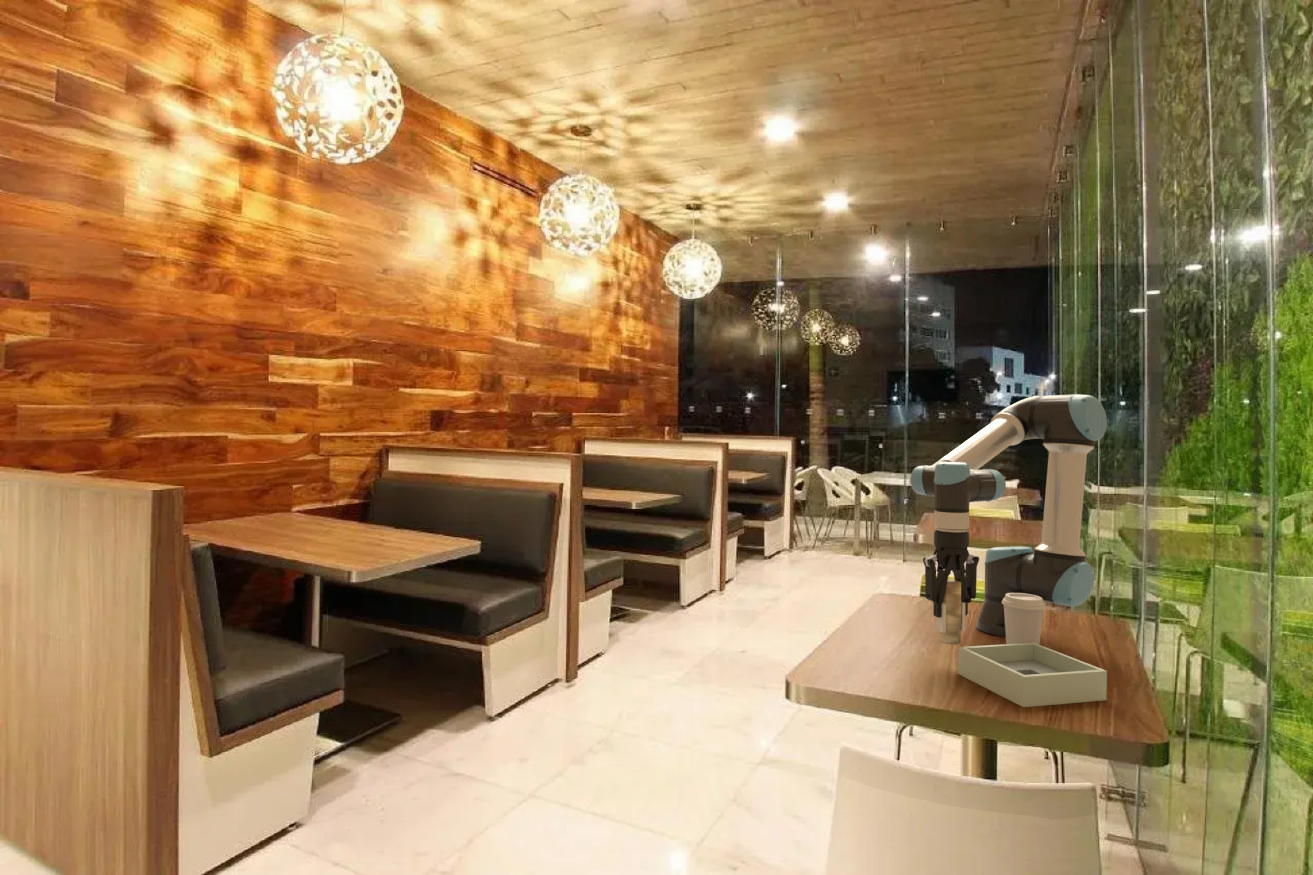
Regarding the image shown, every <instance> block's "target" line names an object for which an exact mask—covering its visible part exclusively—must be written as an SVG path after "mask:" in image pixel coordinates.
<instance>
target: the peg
mask: <svg viewBox="0 0 1313 875" xmlns="http://www.w3.org/2000/svg"><path fill="white" fill-rule="evenodd" d="M943 603H944V604H946V633H943V632H940V631H939V641H940V642H941V643H943V644H946V645H953V646H954V645H961V642H962V641H961V637H962V633H961V632H962V631H961V582H960V581H957V580H955V579H951V578H950V579H949V578H948V581H947V586H946V590H945V595H944V600H943Z"/></svg>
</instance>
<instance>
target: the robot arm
mask: <svg viewBox="0 0 1313 875" xmlns="http://www.w3.org/2000/svg"><path fill="white" fill-rule="evenodd" d="M1107 419H1108V418H1107V414H1106V410H1105V408H1104V407H1103V405H1102V403H1101V401H1100V400H1099V399H1098V398H1097V397H1095V396H1093V395H1089V394H1078V393H1077V394H1074V393H1073V394H1057V395H1056V394H1055V395H1034V396H1030V397H1027V398H1024V399H1021V400H1019V401H1017V402H1015V403H1013V404H1011V405H1009V406H1007V407H1005V408H1004V409H1002V410H1001V411H999V412H998V413H996V414H995V415H994V416H993V417H992V418H991V420H990V423H989V424H988V425H986V426H985V427H983V428H982V429H980V430H979V431H978V432H977V433H975V434H974V435H973V436H971V437H970V438H968V439H967V440H965V441H964V442H963V443H962V444H960V445H959V446H957V447H956V448H954V449H953V450H952V451H950V452H949V453H948V454H946V455H944V456H943V457H941V459H939V460H938V461H936V462H934V463H933V464H932V465H927V464H926V465H919V466H916V467H914V469H913V470H912V472H911V474H910V477H909V480H910V482H909V483H910V486H911V489H912V491H913V492H914V493H916V494H918V495H922V496H927V497H934V512H933V513H934V517H933V519H934V520H933V522H934V523H933V526H934V528H936V529H935V530H934V531H933V545H934V551H933V554H932V555H931V556H929V557H927V556H924V557H923V558H922V561H923V566H924V569H925V570H924V572H925V573H924V574H925V575H924V576H925V577H924V578H925V580H924V582H925V584H924V585H925V589H924V590H925V591H924V592H925V593H924V594H925V596H924V597H925V599H926V600H928V601H930V602H933V607H932V608H933V610H932V611H933V612H932V613H933V616H934V617H935V630H936V631H938V632H939V633H940V632H943V633H946V604H944V603H943V600H944V595H945V590H946V586H947V581H948V579H949V576H950V575H951V572H952V574H953V578H954V580H957V581H960V582H961V632H965V631H966V616H968V613H969V611H968V610H969V609H968V608H969V604H970V603H972V599H973V600H975V599H976V598H977V578H978V577H977V574H978V572H977V571H978V565H979V561H980V557H979V556H978V555H977V556H976V555H973V554H970V552H969V551H968V548H969V546H970V532H969V529H970V503H976V502H991V501H995V500H998V499H1000V498H1002V497H1003V495H1004V494H1005V492H1006V488H1007V487H1006V486H1007V485H1006V484H1007V483H1006V482H1007V481H1006V480H1005V477H1004V475H1003V474H1002V473H1001V472H1000V471H998V470H996V469H991V468H983V469H980V468H981V467H983V466H984V465H985V464H987V463H988V462H990V461H991V460H992V459H993V458H995V457H996V456H998V455H999V454H1000V453H1001V452H1003V451H1004V450H1005V449H1007V448H1008V447H1009V446H1016V445H1018V444H1019V445H1020V443H1022V442H1023V441H1026V440H1034V439H1035V440H1036V439H1041V440H1043V443H1042V446H1044V448H1045V449H1046V450H1047V451H1048V458H1047V460H1048V461H1047V471H1046V472H1047V473H1046V482H1045V483H1046V484H1045V495H1044V496H1045V498H1044V509H1043V520H1042V522H1043V523H1042V532H1041V542H1040V543H1039V544H1038V545H1037V546H1035V547H1034V550H1033V547H1032V546H1031V547H1030V546H997V547H996V546H995V547H991V548H988V549H987V551H986V553H985V561H984V598H983V603H982V606H981V608H980V611H979V615H978V616H977V618H976V629H978V630H979V631H981V632H984V633H985V634H986V633H987V634H991V635H993V636H994V635H995V636H998V637H999V636H1000V637H1003V638H1004V637H1005V638H1006V630H1005V615H1004V605H1003V604H1002V600H1003V598H1005V595H1006V594H1007V593H1025V594H1032V595H1036V596H1039V597H1041V598H1042V599H1043V602H1046V603H1052V604H1055V605H1057V606H1066V607H1077V606H1080V605H1082V604H1083V603H1084V602H1086V600H1087V599H1088V598H1089V596H1091V593H1092V591H1093V589H1094V588H1093V587H1094V585H1095V580H1096V579H1095V577H1096V576H1095V572H1094V568H1093V567H1092V565H1091V564H1089V563H1088V562H1087V561H1086V553H1085V552H1084V551H1083V550H1082V549H1081V547H1080V546H1081V545H1080V544H1081V533H1082V532H1081V530H1082V519H1083V518H1082V517H1083V507H1084V506H1083V505H1084V495H1085V494H1084V493H1085V492H1084V490H1085V481H1086V480H1085V479H1086V470H1087V458H1088V457H1087V455H1088V454H1089V453H1090V452H1091V451H1093V450H1094V449H1095V442H1098V441H1099V440H1102V438H1103V437H1104V436H1105V434H1106V432H1107V429H1108V428H1107V426H1108V421H1107ZM936 566H937V567H936Z"/></svg>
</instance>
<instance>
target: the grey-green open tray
mask: <svg viewBox="0 0 1313 875" xmlns="http://www.w3.org/2000/svg"><path fill="white" fill-rule="evenodd" d="M957 657H958V658H957V660H958V661H957V662H958V663H957V675H958V676H959V675H960V676H961V677H964V678H965V679H968V680H969V681H971V682H973V683H974V684H977V685H979V686H981V687H982V688H985V689H986V690H989V691H991V692H993V693H994V694H997V695H999V696H1000V697H1002V698H1004V699H1006V700H1008V701H1009V702H1010V701H1011V702H1012V703H1014V704H1016V705H1018V706H1020V707H1022V708H1029V707H1030V708H1032V707H1042V706H1053V705H1056V706H1057V705H1066V704H1079V703H1089V702H1100V701H1107V688H1108V687H1107V684H1108V670H1105V669H1103V668H1100V667H1098V666H1096V665H1093V664H1091V663H1087V662H1085V661H1082V660H1080V659H1077V658H1074V657H1073V656H1069V655H1067V654H1064V653H1062V652H1059V651H1056V650H1054V649H1051V648H1049V647H1046V646H1044V645H1041V644H1040V643H1039V644H1036V643H1020V644H1005V643H1002V644H990V645H989V644H988V645H973V646H972V645H971V646H959V647H958V656H957Z"/></svg>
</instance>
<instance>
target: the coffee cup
mask: <svg viewBox="0 0 1313 875" xmlns="http://www.w3.org/2000/svg"><path fill="white" fill-rule="evenodd" d="M1002 604H1003V605H1004V615H1005V630H1006V637H1005V641H1006V644H1020V643H1036V644H1039V645H1040V642H1041V641H1040V640H1041V635H1042V633H1041V632H1042V626H1043V625H1042V624H1043V619H1044V618H1043V616H1044V610H1046V609H1047V606H1046V603H1045V601H1043V599H1042V598H1041V597H1039V596H1036V595H1032V594H1025V593H1007V594H1006V595H1005V598H1003V600H1002Z"/></svg>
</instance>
